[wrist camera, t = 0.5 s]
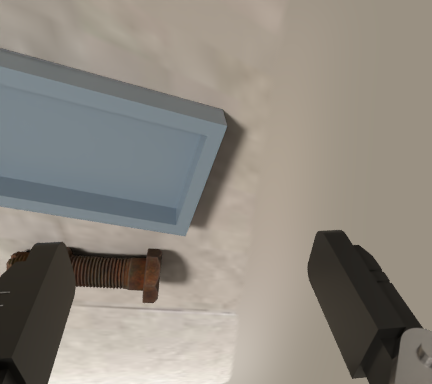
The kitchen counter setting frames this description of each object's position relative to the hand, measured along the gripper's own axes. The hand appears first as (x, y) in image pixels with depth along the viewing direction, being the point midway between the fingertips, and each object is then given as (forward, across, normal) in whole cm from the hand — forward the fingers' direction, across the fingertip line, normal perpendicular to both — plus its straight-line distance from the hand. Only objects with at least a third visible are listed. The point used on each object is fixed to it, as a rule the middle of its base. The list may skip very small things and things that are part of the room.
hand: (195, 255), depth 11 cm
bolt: (+20, +10, +19) cm, 29 cm away
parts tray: (+18, +8, +5) cm, 21 cm away
